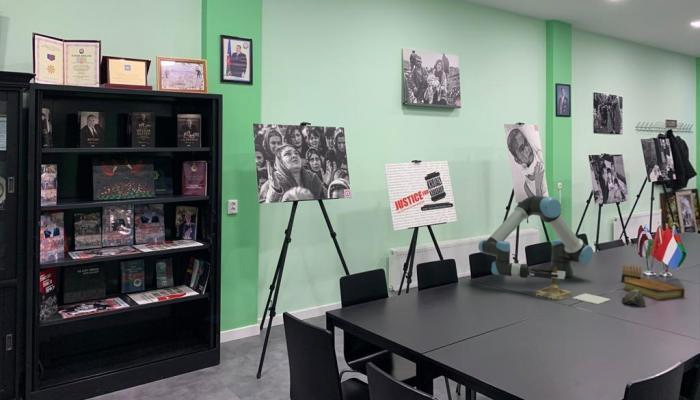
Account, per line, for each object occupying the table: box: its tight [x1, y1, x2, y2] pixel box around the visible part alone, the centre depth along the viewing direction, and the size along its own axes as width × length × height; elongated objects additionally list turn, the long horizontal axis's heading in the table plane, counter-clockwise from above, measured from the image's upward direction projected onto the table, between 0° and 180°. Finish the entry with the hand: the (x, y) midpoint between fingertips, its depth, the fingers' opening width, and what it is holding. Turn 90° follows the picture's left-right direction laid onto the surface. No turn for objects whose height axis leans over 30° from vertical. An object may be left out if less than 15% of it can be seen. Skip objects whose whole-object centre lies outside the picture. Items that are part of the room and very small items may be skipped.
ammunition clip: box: [620, 262, 642, 284], centre depth 305 cm, size 11×2×12 cm, turn 45°
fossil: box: [621, 289, 646, 308], centre depth 263 cm, size 11×9×10 cm
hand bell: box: [547, 267, 560, 295], centre depth 277 cm, size 8×8×16 cm
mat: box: [572, 293, 612, 305], centre depth 271 cm, size 14×14×1 cm
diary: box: [622, 278, 686, 301], centre depth 284 cm, size 23×19×6 cm
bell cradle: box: [535, 286, 573, 301], centre depth 278 cm, size 13×13×2 cm
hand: (564, 275), depth 274 cm, fingers open, 6 cm apart
